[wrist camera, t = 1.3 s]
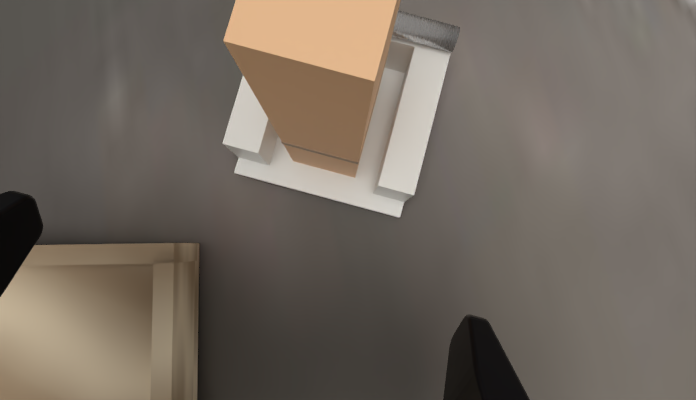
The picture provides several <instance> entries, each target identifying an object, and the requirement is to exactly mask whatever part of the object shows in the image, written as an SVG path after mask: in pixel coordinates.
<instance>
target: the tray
mask: <svg viewBox="0 0 696 400" xmlns="http://www.w3.org/2000/svg"><path fill="white" fill-rule="evenodd" d="M198 304H199V243H138V244H75V245H34V246H33V248H32V250H31V251H30V253H29V254H28V256H27V257H26V259H25V260H24V262H23V264H22V265H21V267H20V268H19V270H18V271H17V273H16V274H15V276H14V278H13V279H12V281H11V282H10V284H9V285H8V287H7V288H6V290H5V291H4V293H3V294H2V296H1V297H0V400H197V376H198Z"/></svg>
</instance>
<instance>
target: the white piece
mask: <svg viewBox="0 0 696 400" xmlns="http://www.w3.org/2000/svg"><path fill="white" fill-rule="evenodd" d="M459 31H460V27H458V26H454V25H451V24H447V23H443V22H439V21H435V20H432V19H428V18H424V17H420V16H417V15H413V14H409V13H405V12H401V11H398V13H397V17H396V21H395V25H394V30H393V34H392V38H391V42H390V46H389V50H388V51H389V52H388V56H387V60H386V64H385V67H384V71H383V75H382V79H381V83H380V87H379V91H378V95H377V98H376V102H375V106H374V110H373V113H372V117H371V121H370V124H369V128H368V132H367V135H366V139H365V143H364V147H363V150H362V154H361V158H360V161H359V165H358V169H357V172H356V176H355V178H354V177H350V176H347V175H343V174H339V173H335V172H332V171H328V170H324V169H321V168H317V167H313V166H309V165H306V164H302V163H298V162H294V161H293V160H292V158H291V157H290V155H289V153H288V151H287V150H286V148H285V146H284V145H283V144H282V143H281V139H280V138H279V136H278V134H277V132H276V131H275V129H274V127H273V126H272V124H271V122H270V120H269V119H268V117H267V115H266V114H265V112H264V110H263V108H262V107H261V105H260V103H259V101H258V100H257V98H256V96H255V95H254V93H253V91H252V89H251V88H250V86H249V84H248V83H247V81H246V79H245V77H244V76H243V77H242V80H241V84H240V87H239V90H238V94H237V97H236V100H235V104H234V107H233V110H232V114H231V117H230V120H229V124H228V127H227V130H226V134H225V137H224V140H223V145H225V146H226V147H227V148H228V149H229V150H230V151H232V152H233V153H234V154H235V155H236V156H238V157H239V158H238V161H237V165H236V168H235V172H234V173H235V174H238V175H241V176H245V177H249V178H253V179H256V180H260V181H264V182H267V183H271V184H275V185H278V186H282V187H286V188H290V189H293V190H297V191H301V192H304V193H308V194H312V195H316V196H319V197H323V198H327V199H330V200H334V201H338V202H341V203H345V204H349V205H353V206H356V207H360V208H364V209H367V210H371V211H375V212H379V213H382V214H386V215H390V216H393V217H397V218H400V216H401V212H402V208H403V204H404V202H405V201H406V200H408V199H409V198H411V197H412V196H414V193H415V190H416V186H417V182H418V178H419V174H420V170H421V166H422V162H423V158H424V155H425V151H426V147H427V143H428V139H429V135H430V131H431V127H432V123H433V120H434V116H435V112H436V108H437V104H438V100H439V96H440V92H441V88H442V85H443V81H444V77H445V73H446V69H447V65H448V61H449V57H450V53H451V52H452V51H453V50H454V47H455V45H456V42H457V38H458V35H459Z"/></svg>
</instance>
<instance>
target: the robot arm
mask: <svg viewBox="0 0 696 400" xmlns="http://www.w3.org/2000/svg"><path fill="white" fill-rule="evenodd" d="M42 230H43V223H42V219H41V216H40V213H39V210H38V207H37V204H36V201H35V199H34V198H33V197H32V196H30V195H27V194H24V193H20V192H16V191H8V192H5V193H2V194H0V297H1V296H2V294H3V293H4V291H5V290H6V288H7V287H8V285H9V284H10V282H11V281H12V279H13V278H14V276H15V274H16V273H17V271H18V270H19V268H20V267H21V265H22V264H23V262H24V260H25V259H26V257H27V256H28V254H29V253H30V251H31V250H32V248H33V246H34V245H35V243H36V242H37V240H38V239H39V237H40V235H41V233H42ZM443 400H530V399H529V397H528V396H527V394H526V392H525V390H524V388H523V386H522V384H521V382H520V380H519V378H518V377H517V375H516V373H515V371H514V369H513V367H512V365H511V363H510V361H509V359H508V358H507V356H506V354H505V352H504V350H503V348H502V346H501V344H500V342H499V340H498V339H497V337H496V335H495V333H494V331H493V329H492V327H491V325H490V323H489V322H488V321H487V320H486V319H484V318H481V317H477V316H473V315H466V316H465V317H464V318H463V320H462V322H461V323H460V325H459V327H458V328H457V330H456V332H455V333H454V335H453V337H452V339H451V343H450V348H449V357H448V365H447V373H446V382H445V390H444V398H443Z"/></svg>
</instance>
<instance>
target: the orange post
mask: <svg viewBox="0 0 696 400" xmlns="http://www.w3.org/2000/svg"><path fill="white" fill-rule="evenodd" d="M400 1H401V0H236V2H235V5H234V8H233V11H232V15H231V18H230V21H229V24H228V28H227V31H226V34H225V37H224V43H225V45H226V46H227V48H228V50H229V52H230V53H231V55H232V57H233V58H234V60H235V62H236V64H237V65H238V67H239V69H240V70H241V72H242V74H243V76H244V77H245V79H246V81H247V83H248V84H249V86H250V88H251V89H252V91H253V93H254V95H255V96H256V98H257V100H258V101H259V103H260V105H261V107H262V108H263V110H264V112H265V114H266V115H267V117H268V119H269V120H270V122H271V124H272V126H273V127H274V129H275V131H276V132H277V134H278V136H279V138H280V139H281V143H282V144H283V145H284V146H285V148H286V150H287V151H288V153H289V155H290V157H291V158H292V160H293V161H294V162H298V163H302V164H306V165H309V166H313V167H317V168H321V169H324V170H328V171H332V172H335V173H339V174H343V175H347V176H350V177H354V178H355V176H356V172H357V169H358V165H359V161H360V158H361V154H362V150H363V147H364V143H365V139H366V135H367V132H368V128H369V124H370V121H371V117H372V113H373V110H374V106H375V102H376V98H377V95H378V91H379V87H380V83H381V79H382V75H383V71H384V67H385V64H386V60H387V56H388V52H389V51H388V50H389V46H390V42H391V38H392V34H393V30H394V25H395V21H396V17H397V13H398V9H399V5H400Z"/></svg>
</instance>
